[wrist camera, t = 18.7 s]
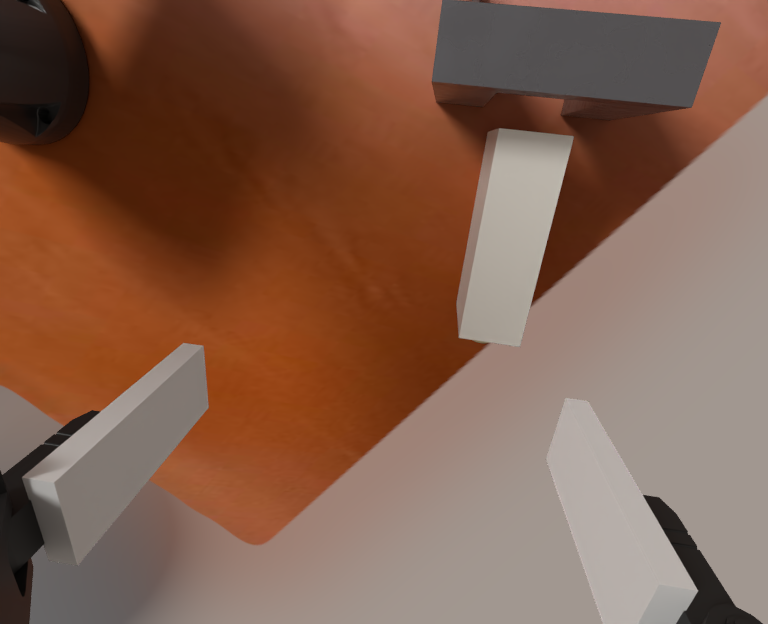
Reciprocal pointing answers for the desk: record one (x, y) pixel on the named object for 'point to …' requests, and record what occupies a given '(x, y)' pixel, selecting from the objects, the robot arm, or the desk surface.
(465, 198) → the desk surface
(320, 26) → the desk surface
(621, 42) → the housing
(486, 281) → the plug
